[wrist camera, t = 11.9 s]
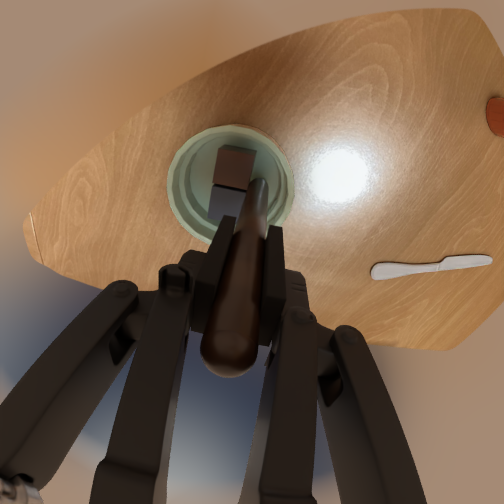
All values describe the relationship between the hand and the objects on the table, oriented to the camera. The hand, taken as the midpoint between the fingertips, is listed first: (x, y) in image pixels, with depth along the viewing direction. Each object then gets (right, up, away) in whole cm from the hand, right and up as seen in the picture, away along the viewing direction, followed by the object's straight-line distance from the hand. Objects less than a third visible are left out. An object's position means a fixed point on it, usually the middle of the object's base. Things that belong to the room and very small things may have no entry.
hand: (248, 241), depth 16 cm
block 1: (-1, +9, +12) cm, 15 cm away
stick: (+1, +6, +11) cm, 13 cm away
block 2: (-2, +6, +14) cm, 15 cm away
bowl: (-2, +8, +13) cm, 15 cm away
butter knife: (+28, -2, +16) cm, 32 cm away
